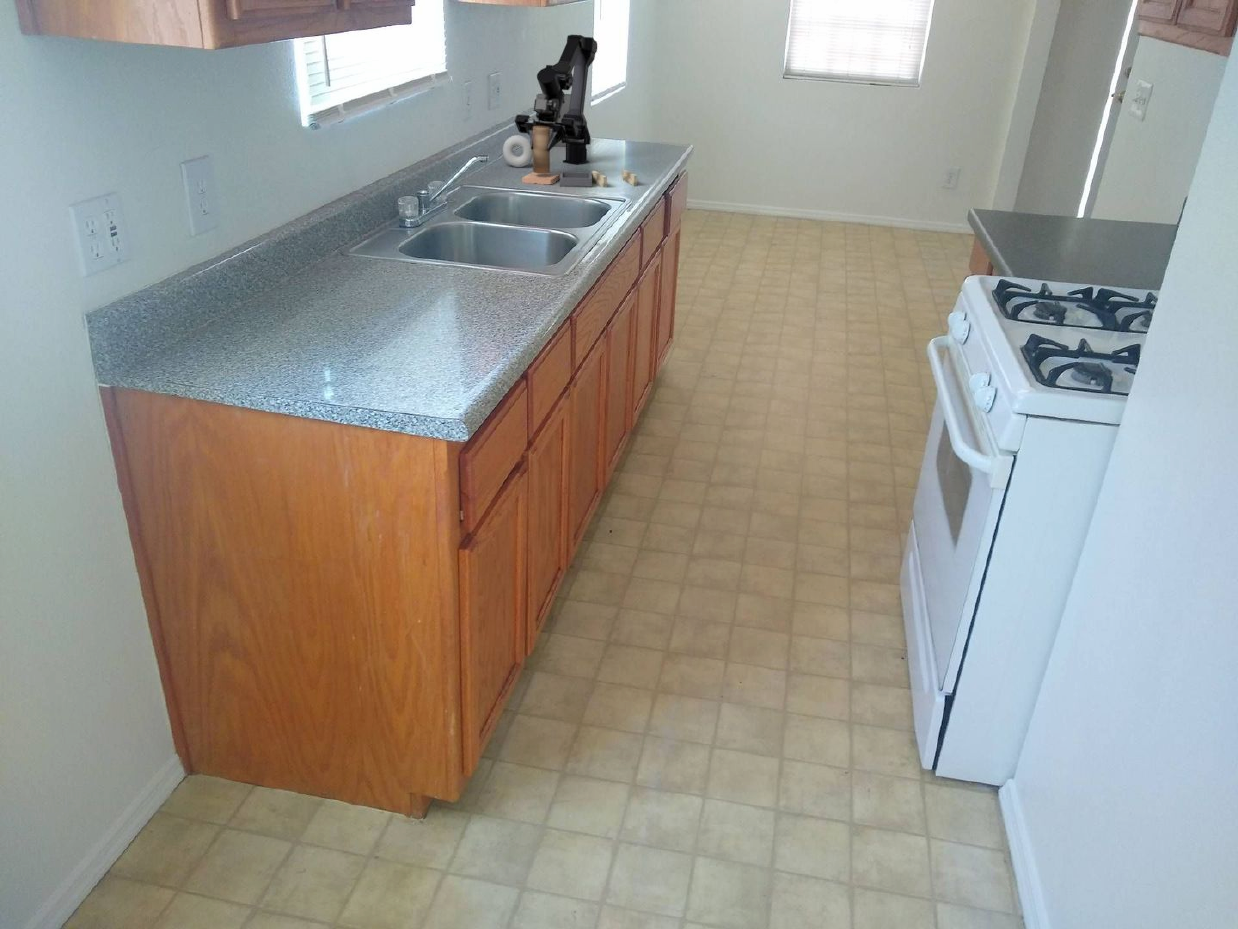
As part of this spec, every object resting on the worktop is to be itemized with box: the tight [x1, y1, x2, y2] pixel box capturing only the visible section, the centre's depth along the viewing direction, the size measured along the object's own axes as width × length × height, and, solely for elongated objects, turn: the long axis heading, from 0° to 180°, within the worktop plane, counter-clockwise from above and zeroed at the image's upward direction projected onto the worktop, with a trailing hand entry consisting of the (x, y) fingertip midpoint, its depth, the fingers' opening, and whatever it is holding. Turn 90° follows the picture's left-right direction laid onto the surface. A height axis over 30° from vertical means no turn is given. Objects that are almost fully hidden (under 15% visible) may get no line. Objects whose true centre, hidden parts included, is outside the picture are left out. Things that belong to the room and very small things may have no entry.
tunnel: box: [591, 168, 638, 188], centre depth 290 cm, size 10×11×3 cm
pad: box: [521, 171, 560, 185], centre depth 290 cm, size 9×9×2 cm
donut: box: [502, 134, 533, 168], centre depth 306 cm, size 10×4×10 cm, turn 87°
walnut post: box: [532, 126, 551, 174], centre depth 286 cm, size 5×5×13 cm
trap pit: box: [559, 171, 593, 188], centre depth 288 cm, size 10×10×2 cm
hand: (539, 149), depth 285 cm, fingers closed on walnut post, 5 cm apart
